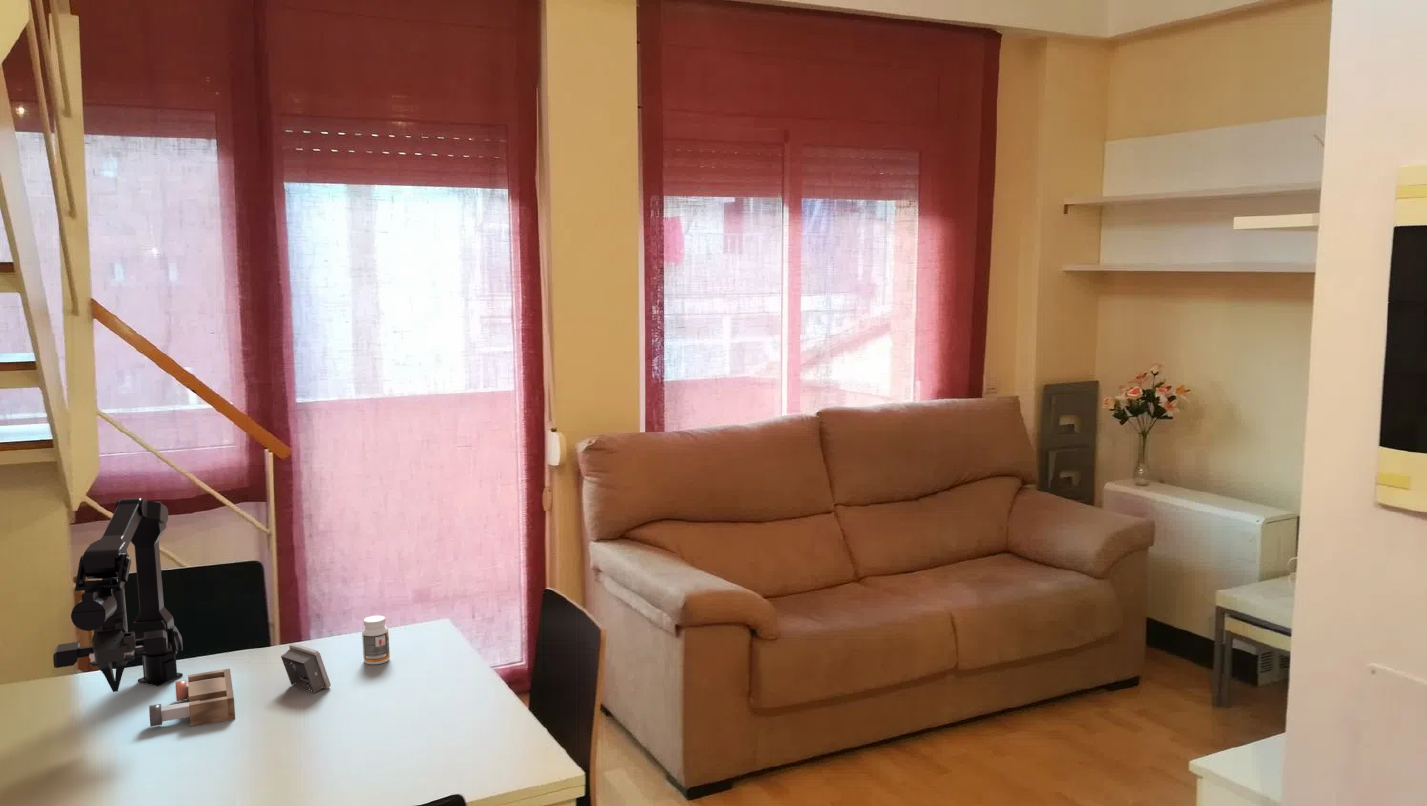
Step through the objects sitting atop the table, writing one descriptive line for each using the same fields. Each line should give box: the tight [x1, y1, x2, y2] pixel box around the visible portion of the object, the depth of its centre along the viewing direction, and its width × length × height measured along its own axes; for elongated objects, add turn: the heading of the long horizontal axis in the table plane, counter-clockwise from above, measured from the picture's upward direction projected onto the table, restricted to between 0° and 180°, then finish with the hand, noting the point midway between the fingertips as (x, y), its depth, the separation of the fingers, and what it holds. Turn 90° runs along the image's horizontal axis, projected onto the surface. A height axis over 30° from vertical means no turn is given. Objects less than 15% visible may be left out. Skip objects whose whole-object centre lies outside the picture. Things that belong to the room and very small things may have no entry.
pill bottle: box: [361, 615, 391, 666], centre depth 241 cm, size 6×6×10 cm
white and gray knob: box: [148, 700, 200, 728], centre depth 209 cm, size 9×4×4 cm, turn 117°
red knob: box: [174, 677, 222, 702], centre depth 221 cm, size 9×4×4 cm, turn 117°
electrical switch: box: [280, 643, 332, 694], centre depth 225 cm, size 9×5×9 cm, turn 57°
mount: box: [187, 667, 236, 727], centre depth 217 cm, size 8×17×4 cm, turn 27°
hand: (115, 691), depth 204 cm, fingers closed
